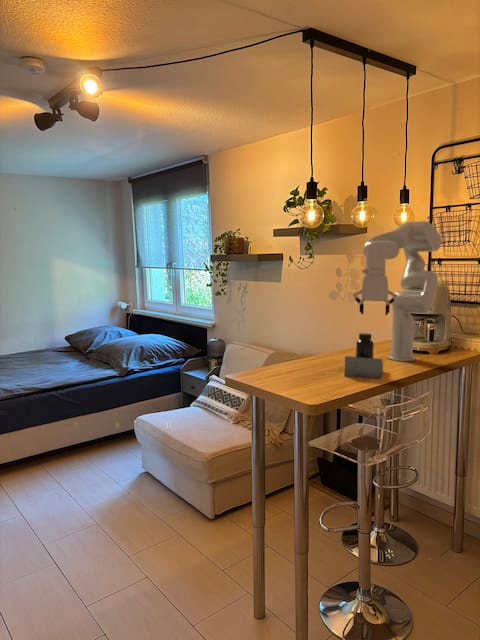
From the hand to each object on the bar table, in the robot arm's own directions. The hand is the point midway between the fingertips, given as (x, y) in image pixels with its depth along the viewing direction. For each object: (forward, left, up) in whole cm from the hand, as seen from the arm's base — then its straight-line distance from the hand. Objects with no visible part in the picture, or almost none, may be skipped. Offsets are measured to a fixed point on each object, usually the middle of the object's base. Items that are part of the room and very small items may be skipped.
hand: (374, 314), depth 191 cm
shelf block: (+6, -3, -24) cm, 25 cm away
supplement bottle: (+5, -3, -20) cm, 21 cm away
